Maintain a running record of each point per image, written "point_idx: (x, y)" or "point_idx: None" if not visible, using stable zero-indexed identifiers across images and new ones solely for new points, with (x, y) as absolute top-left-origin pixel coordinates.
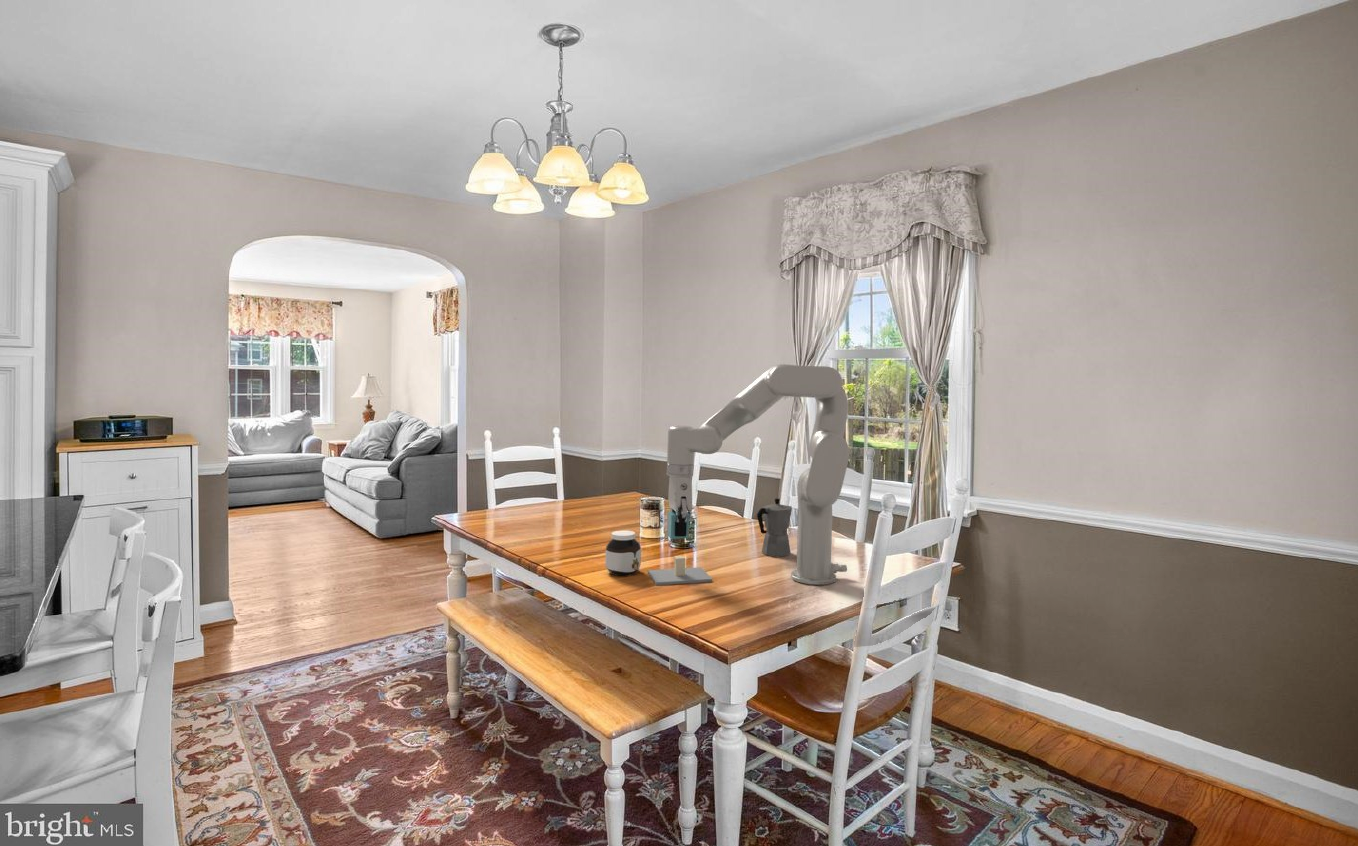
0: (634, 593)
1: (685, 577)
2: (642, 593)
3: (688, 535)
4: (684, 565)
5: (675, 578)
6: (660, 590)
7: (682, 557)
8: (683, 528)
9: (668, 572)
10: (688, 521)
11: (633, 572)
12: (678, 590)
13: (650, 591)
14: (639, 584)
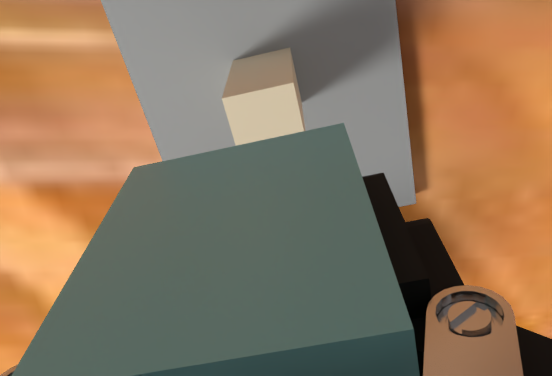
0: (521, 276)
1: (332, 44)
2: (529, 247)
3: (349, 140)
4: (292, 69)
5: (351, 105)
6: (502, 174)
7: (275, 102)
8: (447, 259)
9: (228, 144)
10: (383, 251)
11: None
12: (522, 84)
13: (507, 217)
14: None
